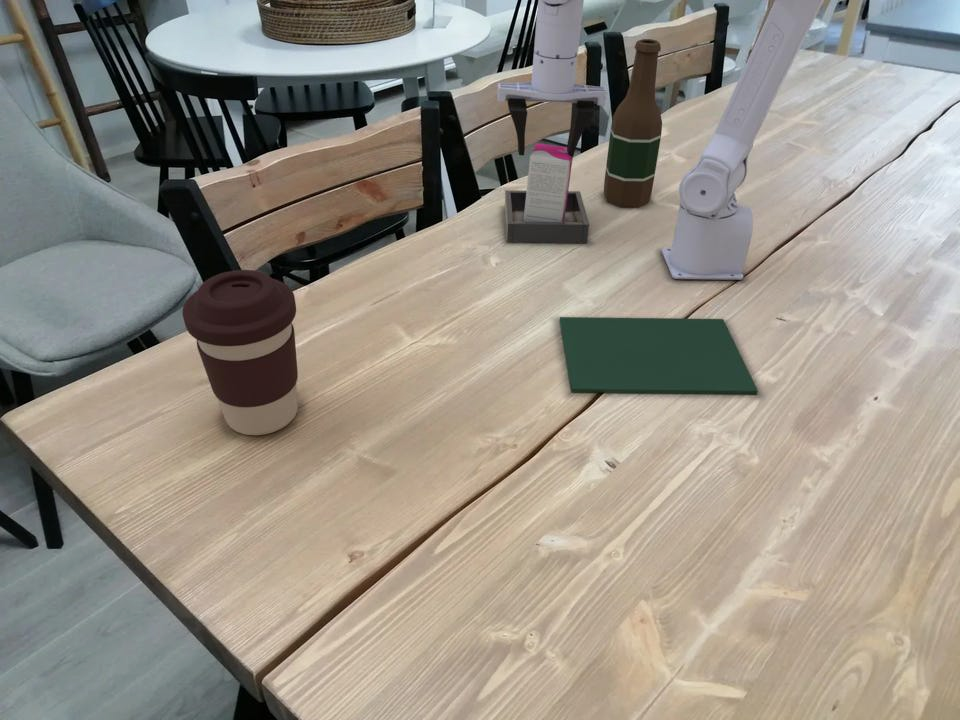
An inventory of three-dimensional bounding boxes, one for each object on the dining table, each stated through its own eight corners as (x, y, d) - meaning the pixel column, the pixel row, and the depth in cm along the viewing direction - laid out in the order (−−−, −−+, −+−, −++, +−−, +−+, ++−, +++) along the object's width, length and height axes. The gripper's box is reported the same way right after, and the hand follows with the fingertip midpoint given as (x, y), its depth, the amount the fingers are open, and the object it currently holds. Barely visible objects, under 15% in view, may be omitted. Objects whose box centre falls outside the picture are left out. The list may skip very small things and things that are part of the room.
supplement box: (561, 236, 108) (569, 160, 102) (521, 230, 109) (527, 155, 103) (566, 219, 113) (574, 146, 106) (528, 214, 114) (534, 141, 107)
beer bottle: (596, 203, 118) (615, 44, 103) (608, 185, 123) (627, 32, 109) (645, 212, 115) (671, 50, 101) (654, 193, 121) (680, 38, 107)
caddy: (578, 209, 116) (580, 191, 114) (587, 243, 107) (589, 224, 105) (504, 208, 116) (505, 190, 114) (506, 242, 107) (507, 223, 105)
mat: (722, 322, 91) (723, 318, 90) (757, 394, 79) (758, 390, 79) (559, 320, 90) (559, 316, 90) (571, 392, 79) (571, 388, 79)
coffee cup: (262, 461, 70) (233, 330, 61) (190, 423, 74) (153, 295, 65) (332, 404, 77) (314, 279, 68) (262, 372, 81) (238, 250, 72)
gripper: (605, 46, 100) (592, 144, 108) (498, 42, 99) (493, 141, 107) (614, 61, 94) (599, 163, 102) (501, 57, 93) (495, 160, 102)
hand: (545, 153), depth 105 cm, fingers open, 6 cm apart
